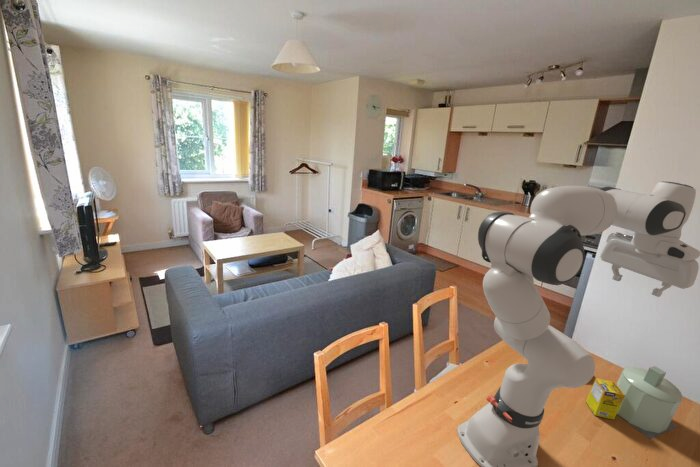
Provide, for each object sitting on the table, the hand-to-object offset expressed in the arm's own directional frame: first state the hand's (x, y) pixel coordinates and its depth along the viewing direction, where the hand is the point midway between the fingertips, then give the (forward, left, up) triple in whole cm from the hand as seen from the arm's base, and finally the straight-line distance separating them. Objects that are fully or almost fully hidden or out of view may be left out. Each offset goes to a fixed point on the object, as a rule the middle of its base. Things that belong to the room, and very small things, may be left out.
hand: (635, 287), depth 90 cm
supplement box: (+6, -1, -47) cm, 47 cm away
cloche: (+18, -6, -46) cm, 50 cm away
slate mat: (+18, -6, -47) cm, 50 cm away
